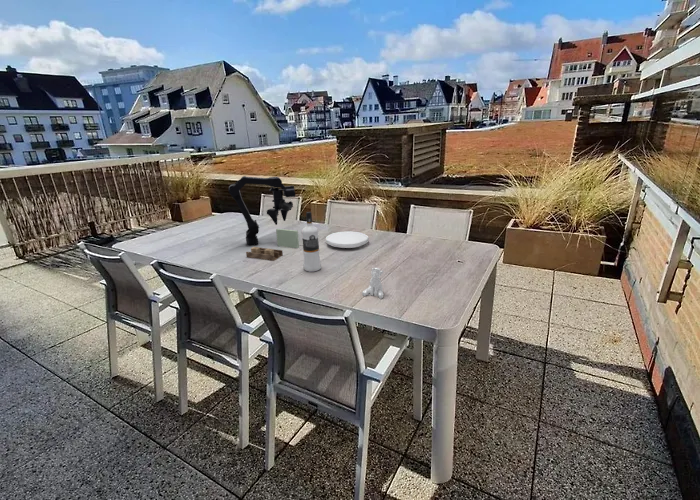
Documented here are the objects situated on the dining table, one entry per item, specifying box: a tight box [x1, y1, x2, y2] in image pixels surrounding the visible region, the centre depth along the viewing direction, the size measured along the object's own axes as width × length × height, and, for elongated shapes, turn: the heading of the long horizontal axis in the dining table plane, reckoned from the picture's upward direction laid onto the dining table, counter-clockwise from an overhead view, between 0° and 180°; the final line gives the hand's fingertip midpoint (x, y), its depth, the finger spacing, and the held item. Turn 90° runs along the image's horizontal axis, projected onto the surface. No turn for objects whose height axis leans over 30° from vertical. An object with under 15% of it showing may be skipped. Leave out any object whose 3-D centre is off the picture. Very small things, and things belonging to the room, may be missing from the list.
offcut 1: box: [250, 246, 261, 253], centre depth 196 cm, size 4×3×5 cm
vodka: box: [301, 211, 322, 273], centre depth 175 cm, size 9×9×30 cm
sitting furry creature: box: [361, 267, 384, 300], centre depth 150 cm, size 10×9×12 cm
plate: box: [325, 230, 370, 249], centre depth 216 cm, size 28×6×27 cm
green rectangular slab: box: [275, 228, 300, 249], centre depth 209 cm, size 14×2×11 cm, turn 68°
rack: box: [245, 247, 284, 262], centre depth 196 cm, size 18×9×4 cm, turn 68°
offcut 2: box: [264, 247, 274, 255], centre depth 192 cm, size 4×3×5 cm
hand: (280, 222), depth 218 cm, fingers open, 9 cm apart
